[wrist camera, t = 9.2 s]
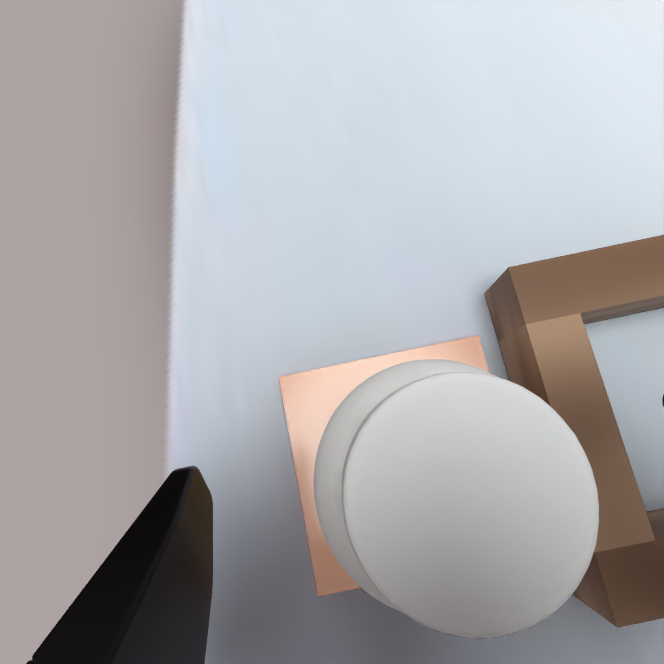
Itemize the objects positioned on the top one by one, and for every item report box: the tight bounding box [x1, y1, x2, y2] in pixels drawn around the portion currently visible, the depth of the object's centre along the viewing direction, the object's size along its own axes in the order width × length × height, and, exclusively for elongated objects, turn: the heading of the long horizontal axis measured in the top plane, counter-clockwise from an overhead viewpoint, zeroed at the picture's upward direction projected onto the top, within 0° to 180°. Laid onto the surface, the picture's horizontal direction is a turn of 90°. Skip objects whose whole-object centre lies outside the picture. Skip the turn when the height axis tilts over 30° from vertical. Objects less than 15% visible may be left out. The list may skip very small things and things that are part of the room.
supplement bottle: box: [313, 359, 599, 639], centre depth 12 cm, size 5×5×10 cm
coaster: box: [279, 335, 489, 597], centre depth 17 cm, size 8×8×1 cm
